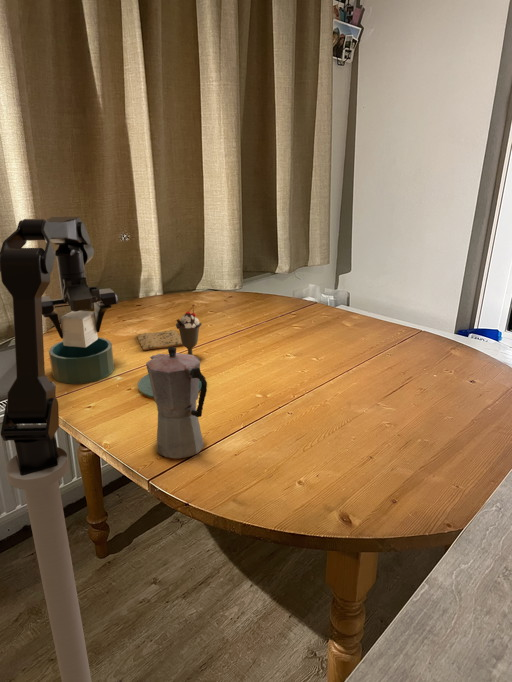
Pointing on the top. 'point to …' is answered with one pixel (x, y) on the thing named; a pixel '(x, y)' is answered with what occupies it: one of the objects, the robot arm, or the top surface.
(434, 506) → the top surface
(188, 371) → the moka pot
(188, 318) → the sundae
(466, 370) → the top surface
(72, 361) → the pot
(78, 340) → the product box
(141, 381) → the lid
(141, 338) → the cookie
